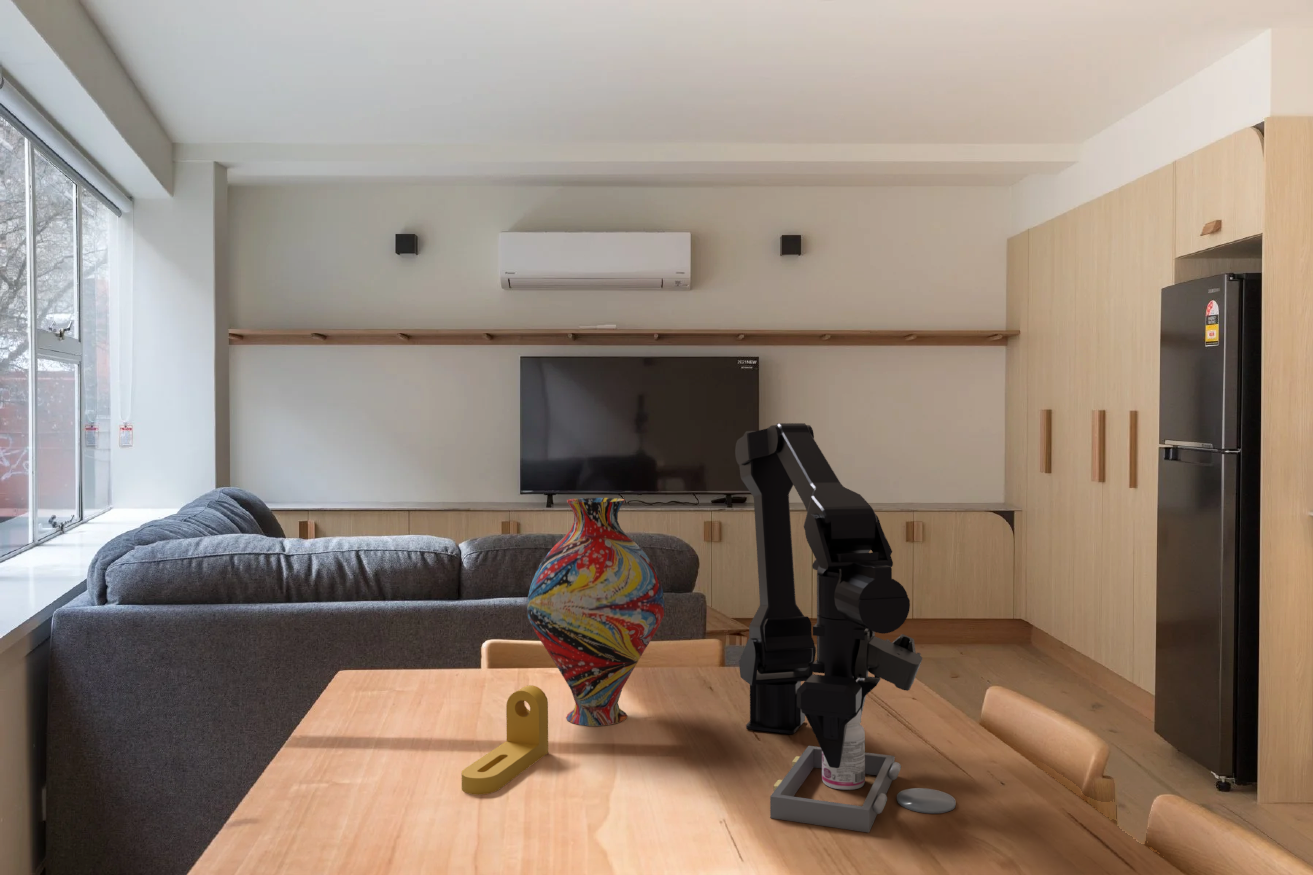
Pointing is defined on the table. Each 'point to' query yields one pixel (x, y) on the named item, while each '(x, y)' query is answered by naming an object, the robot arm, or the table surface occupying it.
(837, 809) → the gray rectangular frame
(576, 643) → the vase
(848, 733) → the pill bottle
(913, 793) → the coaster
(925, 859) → the table surface
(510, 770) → the bracket
